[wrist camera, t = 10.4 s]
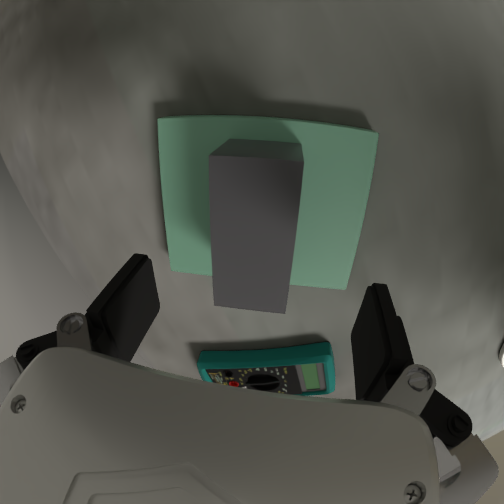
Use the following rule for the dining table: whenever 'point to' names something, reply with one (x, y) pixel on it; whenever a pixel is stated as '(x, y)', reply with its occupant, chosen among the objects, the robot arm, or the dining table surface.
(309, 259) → the board
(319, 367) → the digital multimeter
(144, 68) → the dining table surface
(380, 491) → the robot arm
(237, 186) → the block
